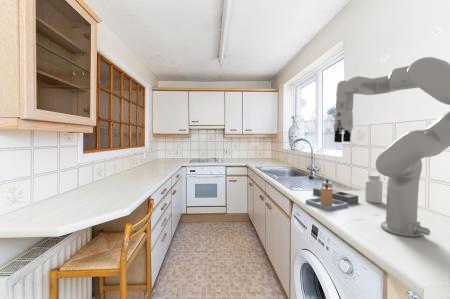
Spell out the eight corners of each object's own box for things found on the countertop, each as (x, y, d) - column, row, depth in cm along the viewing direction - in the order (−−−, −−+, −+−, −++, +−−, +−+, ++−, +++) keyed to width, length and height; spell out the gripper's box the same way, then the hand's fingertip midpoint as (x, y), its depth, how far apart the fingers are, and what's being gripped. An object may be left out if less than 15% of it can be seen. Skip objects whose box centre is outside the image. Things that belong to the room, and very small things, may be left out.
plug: (332, 205, 116) (332, 184, 115) (326, 206, 114) (327, 185, 113) (325, 203, 119) (326, 183, 119) (320, 204, 118) (320, 184, 117)
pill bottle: (371, 198, 129) (372, 173, 129) (385, 202, 122) (386, 176, 121) (361, 200, 127) (362, 174, 126) (375, 204, 119) (375, 177, 118)
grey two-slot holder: (358, 203, 120) (358, 195, 120) (348, 205, 117) (348, 197, 117) (322, 193, 142) (322, 186, 142) (313, 195, 138) (313, 188, 138)
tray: (348, 208, 113) (348, 203, 113) (328, 212, 107) (328, 207, 107) (324, 200, 126) (324, 196, 126) (305, 204, 120) (305, 199, 120)
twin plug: (332, 197, 133) (332, 179, 132) (327, 198, 131) (327, 180, 131) (326, 195, 137) (326, 178, 136) (321, 196, 135) (322, 179, 134)
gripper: (344, 104, 98) (342, 142, 99) (359, 107, 109) (357, 141, 110) (328, 106, 104) (326, 142, 105) (343, 108, 115) (342, 141, 116)
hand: (342, 141), depth 108 cm, fingers open, 9 cm apart
